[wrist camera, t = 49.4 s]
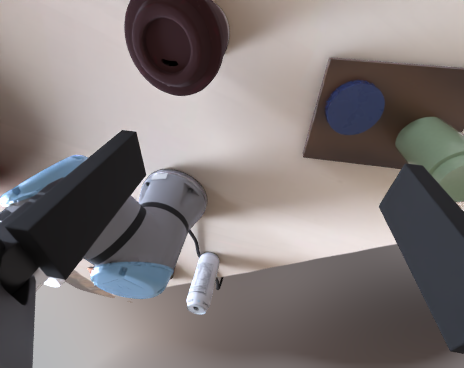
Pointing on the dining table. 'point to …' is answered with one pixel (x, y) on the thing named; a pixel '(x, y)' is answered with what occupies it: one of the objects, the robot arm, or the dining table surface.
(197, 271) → the energy drink can
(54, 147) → the dining table surface
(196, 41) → the coffee cup
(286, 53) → the dining table surface
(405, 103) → the board
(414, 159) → the jar
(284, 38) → the dining table surface
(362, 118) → the lid
